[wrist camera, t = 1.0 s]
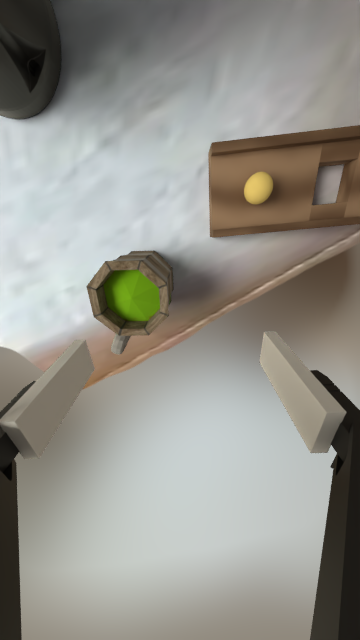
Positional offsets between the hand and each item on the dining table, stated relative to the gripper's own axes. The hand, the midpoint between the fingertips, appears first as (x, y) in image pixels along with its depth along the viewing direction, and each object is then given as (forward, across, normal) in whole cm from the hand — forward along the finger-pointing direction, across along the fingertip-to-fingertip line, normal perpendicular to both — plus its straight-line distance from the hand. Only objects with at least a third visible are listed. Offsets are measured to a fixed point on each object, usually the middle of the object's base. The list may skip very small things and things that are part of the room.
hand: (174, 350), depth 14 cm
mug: (+23, -7, -2) cm, 24 cm away
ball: (+19, +11, +12) cm, 25 cm away
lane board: (+23, +16, +12) cm, 31 cm away
